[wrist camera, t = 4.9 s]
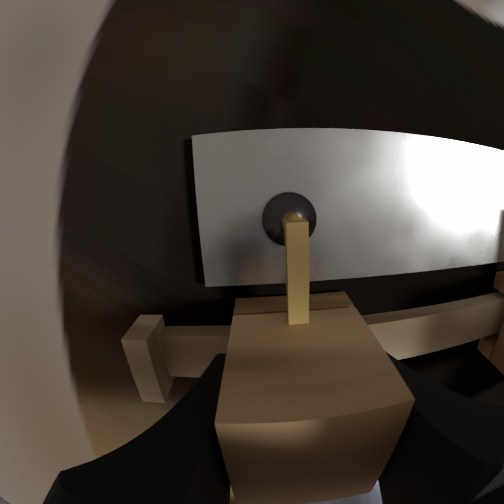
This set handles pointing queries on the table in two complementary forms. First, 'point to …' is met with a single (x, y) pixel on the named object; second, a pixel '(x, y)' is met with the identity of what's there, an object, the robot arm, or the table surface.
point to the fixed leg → (495, 335)
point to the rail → (382, 324)
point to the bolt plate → (345, 203)
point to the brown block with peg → (306, 393)
